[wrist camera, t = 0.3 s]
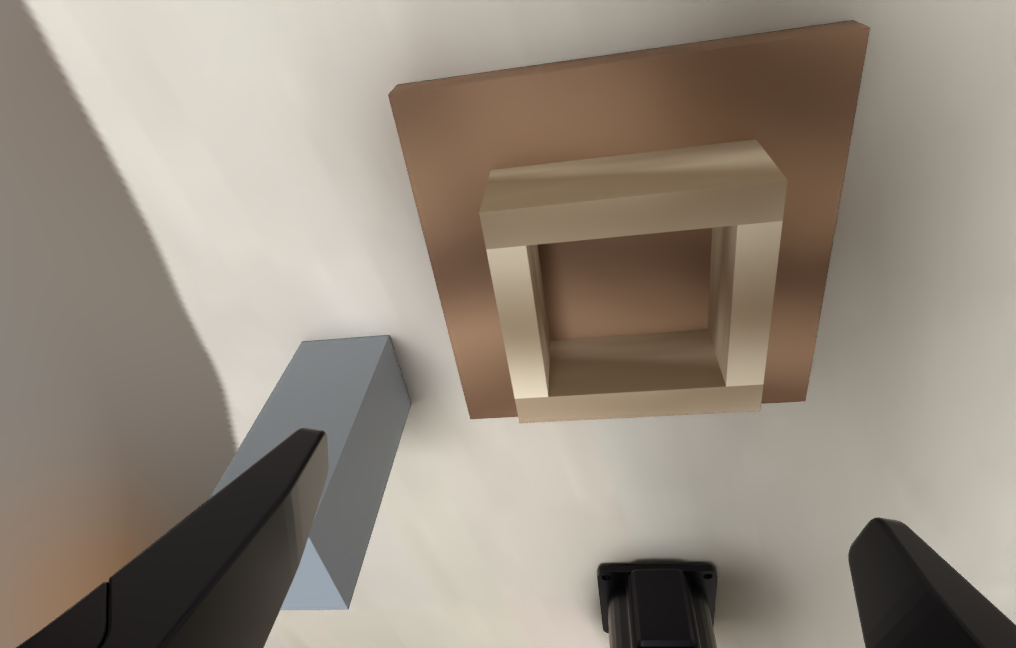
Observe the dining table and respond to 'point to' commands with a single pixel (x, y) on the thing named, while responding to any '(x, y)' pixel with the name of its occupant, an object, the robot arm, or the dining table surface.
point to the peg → (335, 454)
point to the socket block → (636, 222)
